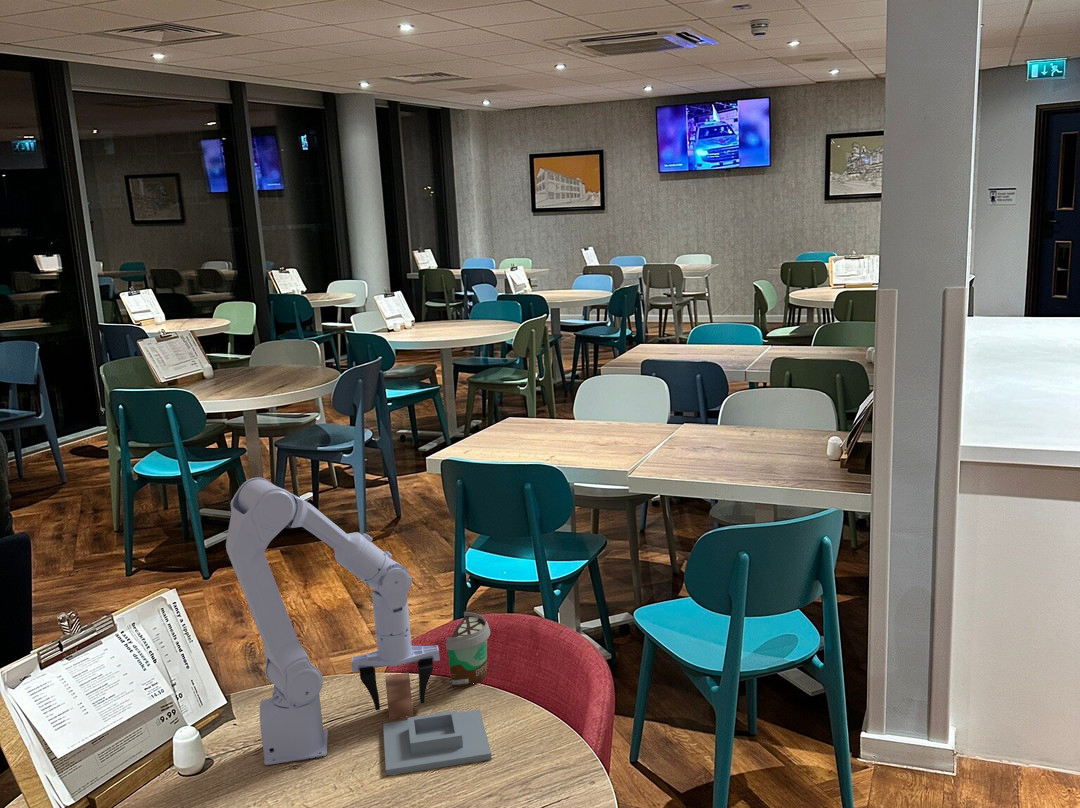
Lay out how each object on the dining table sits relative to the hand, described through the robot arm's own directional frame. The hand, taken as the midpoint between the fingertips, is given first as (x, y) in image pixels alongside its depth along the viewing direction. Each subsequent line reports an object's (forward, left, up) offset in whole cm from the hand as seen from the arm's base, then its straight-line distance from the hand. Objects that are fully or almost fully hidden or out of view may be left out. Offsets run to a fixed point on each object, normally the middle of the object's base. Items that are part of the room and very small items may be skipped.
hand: (400, 704), depth 162 cm
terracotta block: (0, 0, -2) cm, 2 cm away
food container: (+14, +9, -2) cm, 17 cm away
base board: (+5, -12, -1) cm, 13 cm away
